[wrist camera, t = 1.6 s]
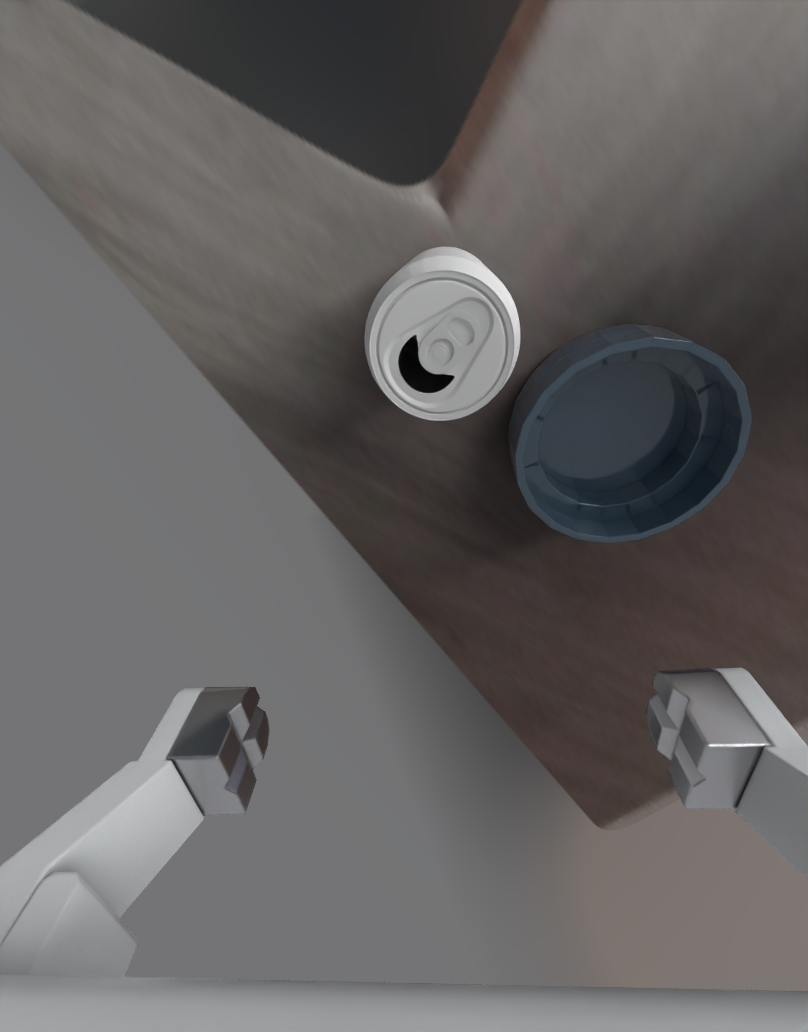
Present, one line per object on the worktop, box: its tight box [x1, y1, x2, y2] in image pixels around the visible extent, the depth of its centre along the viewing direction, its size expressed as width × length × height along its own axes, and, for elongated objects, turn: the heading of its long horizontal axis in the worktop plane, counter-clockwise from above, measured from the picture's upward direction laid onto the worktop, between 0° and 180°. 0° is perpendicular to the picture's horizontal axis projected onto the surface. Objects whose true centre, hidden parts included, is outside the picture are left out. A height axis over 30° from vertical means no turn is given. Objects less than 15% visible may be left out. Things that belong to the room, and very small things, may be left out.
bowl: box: [508, 323, 752, 543], centre depth 29 cm, size 13×13×4 cm
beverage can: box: [364, 247, 520, 421], centre depth 23 cm, size 6×6×12 cm
